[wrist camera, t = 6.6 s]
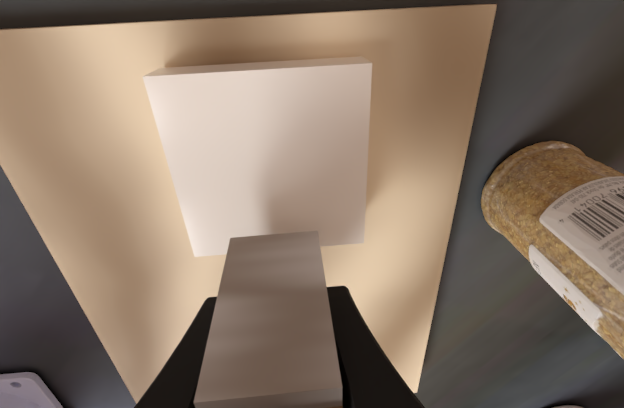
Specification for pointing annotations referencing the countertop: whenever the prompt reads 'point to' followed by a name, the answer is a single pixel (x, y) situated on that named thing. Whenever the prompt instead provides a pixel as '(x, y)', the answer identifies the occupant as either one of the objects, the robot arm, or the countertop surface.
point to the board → (160, 189)
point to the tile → (266, 148)
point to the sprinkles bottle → (566, 227)
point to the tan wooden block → (271, 328)
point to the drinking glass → (568, 406)
